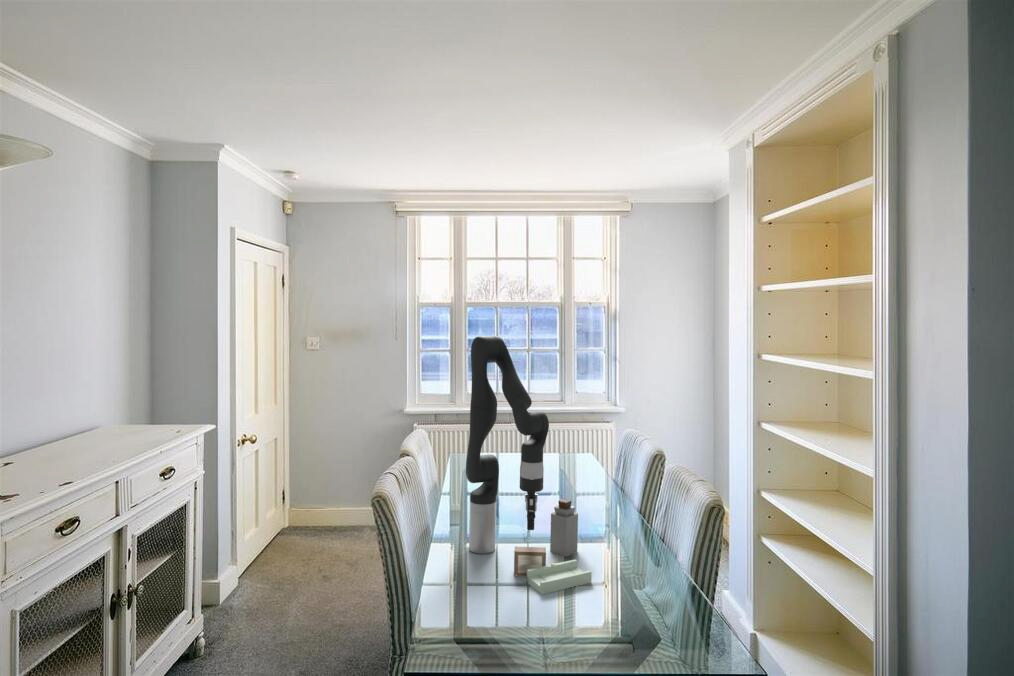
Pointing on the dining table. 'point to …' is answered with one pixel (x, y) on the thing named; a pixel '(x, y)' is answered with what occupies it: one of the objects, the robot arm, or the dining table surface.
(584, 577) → the ledge
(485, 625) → the dining table surface
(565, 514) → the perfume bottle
